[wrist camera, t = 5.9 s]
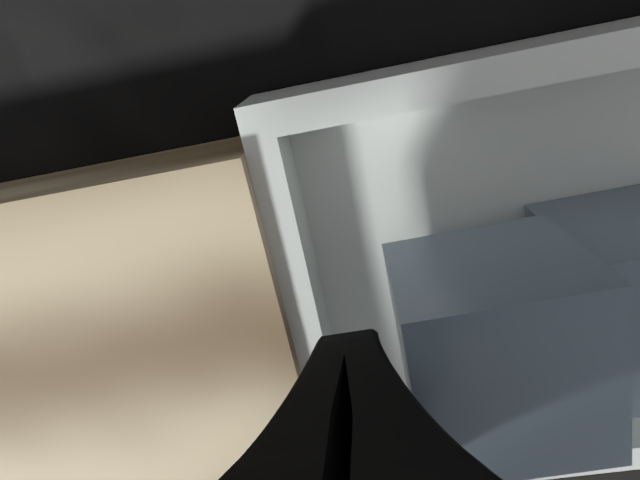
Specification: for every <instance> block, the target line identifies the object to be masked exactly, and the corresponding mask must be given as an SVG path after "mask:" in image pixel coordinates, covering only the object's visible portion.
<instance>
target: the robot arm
mask: <svg viewBox="0 0 640 480" xmlns="http://www.w3.org/2000/svg"><path fill="white" fill-rule="evenodd" d="M218 480H503V479H501V478H500V477H499V476H497V475H496V474H495V473H493V472H492V471H491V470H490V469H489V468H487V467H486V466H485V465H484V464H482V463H481V462H480V461H479V460H477V459H476V458H475V457H474V456H473V455H471V454H470V453H469V452H468V451H466V450H465V449H464V448H463V447H462V446H461V445H460V444H459V443H458V442H456V441H455V440H454V439H453V438H452V437H451V436H450V435H449V434H448V433H447V432H446V431H445V430H444V429H443V428H442V427H441V426H440V425H439V424H438V423H437V422H436V421H435V420H434V419H433V418H432V417H431V415H430V414H429V413H428V412H427V411H426V410H425V409H424V407H423V406H422V405H421V404H420V403H419V401H418V400H417V399H416V398H415V396H414V395H413V394H412V393H411V391H410V390H409V389H408V387H407V386H406V385H405V383H404V382H403V380H402V379H401V377H400V376H399V374H398V373H397V372H396V370H395V369H394V367H393V365H392V364H391V362H390V360H389V359H388V357H387V355H386V353H385V351H384V349H383V347H382V345H381V342H380V339H379V336H378V332H377V331H375V330H374V329H366V330H359V331H353V332H346V333H339V334H333V335H326V336H321V337H320V338H319V340H318V341H317V343H316V345H315V347H314V349H313V351H312V353H311V355H310V357H309V359H308V361H307V363H306V364H305V366H304V368H303V370H302V372H301V373H300V375H299V377H298V378H297V380H296V382H295V383H294V385H293V387H292V388H291V390H290V392H289V393H288V395H287V397H286V398H285V400H284V401H283V403H282V404H281V405H280V407H279V408H278V410H277V411H276V413H275V414H274V416H273V417H272V418H271V420H270V421H269V423H268V424H267V425H266V427H265V428H264V429H263V431H262V432H261V433H260V435H259V436H258V437H257V438H256V440H255V441H254V442H253V443H252V444H251V446H250V447H249V448H248V449H247V450H246V451H245V453H244V454H243V455H242V456H241V457H240V458H239V459H238V460H237V461H236V462H235V463H234V464H233V465H232V466H231V467H230V468H229V469H228V470H227V471H226V472H225V473H224V474H223V475H222V476H221V477H220V478H219V479H218Z"/></svg>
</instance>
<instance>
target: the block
mask: <svg viewBox="0 0 640 480" xmlns="http://www.w3.org/2000/svg"><path fill="white" fill-rule="evenodd" d="M524 212H525V218H526V217H532V216H537V215H543V214H544V215H545V216H547V217H548V218H549V219H550V220H552V221H553V222H554V223H555V224H557V225H558V226H559V227H560V228H562V229H563V230H564V231H565V232H567V233H568V234H569V235H570V236H572V237H573V238H574V239H575V240H577V241H578V242H579V243H580V244H581V245H583V246H584V247H585V248H586V249H588V250H589V251H590V252H591V253H593V254H594V255H595V256H596V257H598V258H599V259H600V260H601V261H603V262H604V263H605V264H606V265H608V266H609V267H610V268H611V269H612V270H614V271H615V272H616V273H617V274H619V275H620V276H621V277H622V278H624V279H625V280H626V281H627V282H629V283H630V284H631V285H632V286H633V366H632V418H639V417H640V184H635V185H630V186H625V187H619V188H614V189H608V190H603V191H597V192H592V193H587V194H581V195H576V196H570V197H565V198H560V199H554V200H549V201H543V202H538V203H532V204H527V205H524Z"/></svg>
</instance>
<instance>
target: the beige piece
mask: <svg viewBox="0 0 640 480" xmlns="http://www.w3.org/2000/svg"><path fill="white" fill-rule="evenodd" d="M300 373H301V371H300V367H299V363H298V359H297V355H296V352H295V348H294V344H293V340H292V336H291V332H290V328H289V324H288V320H287V316H286V312H285V309H284V305H283V301H282V297H281V293H280V289H279V285H278V281H277V277H276V273H275V269H274V266H273V262H272V258H271V254H270V250H269V246H268V242H267V238H266V234H265V230H264V227H263V223H262V219H261V215H260V211H259V207H258V203H257V199H256V195H255V191H254V187H253V184H252V180H251V176H250V172H249V168H248V164H247V160H246V156H245V152H244V148H243V144H242V141H241V137H240V136H238V137H233V138H228V139H223V140H218V141H212V142H207V143H202V144H197V145H192V146H187V147H182V148H177V149H172V150H166V151H161V152H156V153H151V154H146V155H141V156H136V157H131V158H125V159H120V160H115V161H110V162H105V163H100V164H95V165H90V166H85V167H79V168H74V169H69V170H64V171H59V172H54V173H49V174H44V175H38V176H33V177H28V178H23V179H18V180H13V181H8V182H3V183H0V480H218V479H219V478H220V477H221V476H222V475H223V474H224V473H225V472H226V471H227V470H228V469H229V468H230V467H231V466H232V465H233V464H234V463H235V462H236V461H237V460H238V459H239V458H240V457H241V456H242V455H243V454H244V453H245V451H246V450H247V449H248V448H249V447H250V446H251V444H252V443H253V442H254V441H255V440H256V438H257V437H258V436H259V435H260V433H261V432H262V431H263V429H264V428H265V427H266V425H267V424H268V423H269V421H270V420H271V418H272V417H273V416H274V414H275V413H276V411H277V410H278V408H279V407H280V405H281V404H282V403H283V401H284V400H285V398H286V397H287V395H288V393H289V392H290V390H291V388H292V387H293V385H294V383H295V382H296V380H297V378H298V377H299V375H300Z"/></svg>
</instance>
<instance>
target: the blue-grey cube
mask: <svg viewBox="0 0 640 480" xmlns="http://www.w3.org/2000/svg"><path fill="white" fill-rule="evenodd" d="M382 250H383V256H384V261H385V267H386V272H387V278H388V284H389V289H390V295H391V300H392V306H393V312H394V317H395V323H396V329H397V334H398V340H399V345H400V351H401V357H402V362H403V368H404V374H405V379H406V383H407V387H408V389H409V390H410V391H411V393H412V394H413V395H414V396H415V398H416V399H417V400H418V401H419V403H420V404H421V405H422V406H423V407H424V409H425V410H426V411H427V412H428V413H429V414H430V415H431V417H432V418H433V419H434V420H435V421H436V422H437V423H438V424H439V425H440V426H441V427H442V428H443V429H444V430H445V431H446V432H447V433H448V434H449V435H450V436H451V437H452V438H453V439H454V440H455V441H456V442H458V443H459V444H460V445H461V446H462V447H463V448H464V449H465V450H466V451H468V452H469V453H470V454H471V455H473V456H474V457H475V458H476V459H477V460H479V461H480V462H481V463H482V464H484V465H485V466H486V467H487V468H489V469H490V470H491V471H492V472H493V473H495V474H496V475H497V476H499V477H500V478H501V479H503V480H529V479H536V478H544V477H551V476H558V475H566V474H573V473H581V472H588V471H595V470H603V469H610V468H618V467H625V466H632V366H633V286H632V285H631V284H630V283H629V282H627V281H626V280H625V279H624V278H622V277H621V276H620V275H619V274H617V273H616V272H615V271H614V270H612V269H611V268H610V267H609V266H608V265H606V264H605V263H604V262H603V261H601V260H600V259H599V258H598V257H596V256H595V255H594V254H593V253H591V252H590V251H589V250H588V249H586V248H585V247H584V246H583V245H581V244H580V243H579V242H578V241H577V240H575V239H574V238H573V237H572V236H570V235H569V234H568V233H567V232H565V231H564V230H563V229H562V228H560V227H559V226H558V225H557V224H555V223H554V222H553V221H552V220H550V219H549V218H548V217H547V216H545V215H544V214H543V215H537V216H532V217H526V218H521V219H516V220H510V221H505V222H499V223H494V224H488V225H483V226H477V227H472V228H466V229H461V230H455V231H450V232H444V233H439V234H433V235H428V236H422V237H417V238H411V239H406V240H401V241H395V242H390V243H384V244H382Z"/></svg>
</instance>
